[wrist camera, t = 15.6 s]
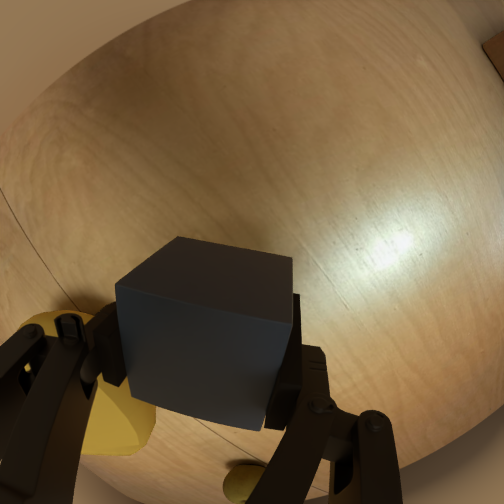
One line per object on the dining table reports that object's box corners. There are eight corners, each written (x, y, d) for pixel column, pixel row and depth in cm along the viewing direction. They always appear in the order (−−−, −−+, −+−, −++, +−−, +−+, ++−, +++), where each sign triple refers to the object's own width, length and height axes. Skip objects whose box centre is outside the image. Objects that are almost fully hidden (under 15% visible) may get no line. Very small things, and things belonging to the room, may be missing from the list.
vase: (207, 376, 28) (148, 533, 10) (130, 416, 33) (78, 510, 15) (87, 254, 25) (-58, 349, 7) (43, 330, 31) (-38, 404, 13)
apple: (278, 477, 34) (274, 510, 28) (231, 474, 36) (223, 506, 29) (277, 458, 32) (273, 497, 25) (224, 455, 33) (214, 492, 27)
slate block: (177, 235, 14) (113, 283, 9) (292, 257, 14) (293, 324, 8) (174, 329, 16) (130, 397, 11) (270, 350, 16) (259, 432, 10)
